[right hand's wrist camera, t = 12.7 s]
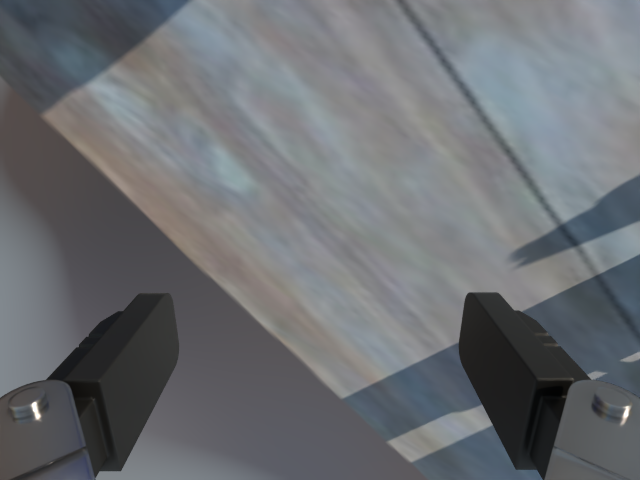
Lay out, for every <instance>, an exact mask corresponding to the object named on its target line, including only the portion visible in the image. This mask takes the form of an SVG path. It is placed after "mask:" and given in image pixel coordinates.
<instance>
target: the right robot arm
mask: <svg viewBox="0 0 640 480" xmlns="http://www.w3.org/2000/svg"><path fill="white" fill-rule="evenodd" d="M178 354H179V340H178V333H177V326H176V319H175V312H174V305H173V300H172V297H171V295H170V294H169V293H140V294H138V295H137V296H136V297H135V298H134V300H133V301H132V302H131V303H130V304H129V305H128V306H127V308H126V309H125V310H124V311H118V312H116V313H115V314H113V315H111V316H110V317H108V318H106V319H105V320H103V321H101V322H100V323H99V324H98V325H97V326H96V327H95V328H94V329H93V330H92V331H91V333H90V334H89V337H86V338H85V339H84V340H83V341H82V342H81V343H80V344H79V347H77V348H76V349H75V350H74V351H73V352H72V353H71V354H70V355H69V356H68V357H67V358H66V359H65V360H64V361H63V362H62V363H61V364H60V366H59V367H58V368H57V369H56V370H55V371H54V372H53V373H52V374H51V375H50V376H49V377H48V378H47V379H46V380H43V381H37V382H33V383H30V384H26V385H24V386H21V387H19V388H17V389H14V390H12V391H10V392H9V393H7V394H5V395H4V396H2V397H1V398H0V480H96V479H95V478H96V476H97V474H98V473H99V471H121V470H122V468H123V466H124V464H125V462H126V460H127V458H128V456H129V455H130V453H131V451H132V449H133V447H134V445H135V443H136V441H137V439H138V437H139V435H140V433H141V432H142V430H143V428H144V426H145V424H146V422H147V420H148V418H149V416H150V414H151V412H152V410H153V408H154V407H155V405H156V403H157V401H158V399H159V397H160V395H161V393H162V391H163V389H164V387H165V385H166V383H167V381H168V380H169V378H170V376H171V374H172V372H173V370H174V368H175V366H176V363H177V360H178ZM459 355H460V360H461V363H462V366H463V368H464V370H465V372H466V373H467V375H468V377H469V379H470V381H471V383H472V385H473V387H474V389H475V391H476V393H477V395H478V397H479V399H480V401H481V403H482V405H483V407H484V408H485V410H486V412H487V414H488V416H489V418H490V420H491V422H492V424H493V426H494V428H495V430H496V432H497V434H498V436H499V438H500V440H501V442H502V444H503V445H504V447H505V449H506V451H507V453H508V455H509V457H510V459H511V461H512V463H513V465H514V467H515V469H516V470H538V472H539V474H540V475H541V477H542V479H543V480H640V398H639V397H638V396H636V395H635V394H633V393H631V392H630V391H628V390H626V389H623V388H621V387H619V386H616V385H614V384H610V383H607V382H603V381H597V380H591V379H590V378H589V377H588V376H587V374H586V373H585V372H584V371H583V370H582V369H581V368H580V367H579V366H578V365H577V364H576V363H575V362H574V361H573V359H572V358H571V357H570V356H569V355H568V354H567V353H566V352H565V351H564V350H563V349H562V348H561V347H560V346H558V343H557V342H556V341H555V340H554V339H553V338H552V337H551V336H548V333H547V332H546V330H545V329H544V328H543V327H542V326H541V325H540V324H539V323H538V322H537V321H536V320H534V319H532V318H531V317H529V316H527V315H526V314H524V313H522V312H521V311H514V310H513V309H512V308H511V306H510V305H509V304H508V303H507V302H506V301H505V300H504V298H503V297H502V296H501V295H500V294H499V293H468V294H467V296H466V298H465V303H464V310H463V317H462V324H461V331H460V338H459Z"/></svg>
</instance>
